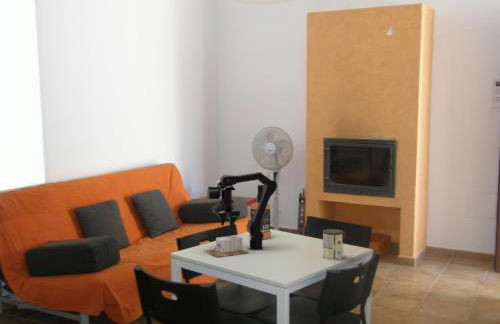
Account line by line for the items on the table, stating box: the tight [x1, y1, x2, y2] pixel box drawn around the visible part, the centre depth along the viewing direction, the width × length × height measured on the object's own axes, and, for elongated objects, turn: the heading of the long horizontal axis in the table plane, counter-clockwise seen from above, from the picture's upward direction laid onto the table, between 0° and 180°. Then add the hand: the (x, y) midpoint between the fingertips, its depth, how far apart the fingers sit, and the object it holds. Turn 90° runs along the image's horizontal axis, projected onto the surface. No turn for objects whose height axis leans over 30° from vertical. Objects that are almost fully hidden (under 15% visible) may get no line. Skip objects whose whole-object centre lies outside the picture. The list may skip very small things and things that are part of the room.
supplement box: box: [215, 235, 244, 253], centre depth 291 cm, size 7×7×13 cm
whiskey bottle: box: [248, 184, 272, 241], centre depth 326 cm, size 10×10×32 cm
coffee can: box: [322, 228, 344, 261], centre depth 280 cm, size 10×10×14 cm
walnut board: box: [204, 248, 249, 259], centre depth 290 cm, size 19×15×1 cm
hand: (226, 227), depth 294 cm, fingers open, 9 cm apart
